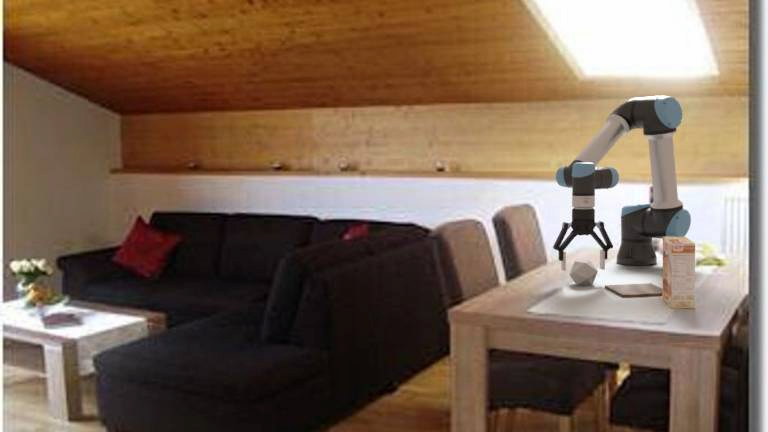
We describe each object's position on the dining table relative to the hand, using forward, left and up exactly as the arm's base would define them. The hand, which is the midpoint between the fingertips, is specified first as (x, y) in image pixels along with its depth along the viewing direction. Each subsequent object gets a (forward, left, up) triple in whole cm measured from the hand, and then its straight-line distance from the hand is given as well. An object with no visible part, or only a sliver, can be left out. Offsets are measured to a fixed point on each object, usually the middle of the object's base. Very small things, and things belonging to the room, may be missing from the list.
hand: (582, 269), depth 276 cm
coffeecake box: (-18, +34, -5) cm, 39 cm away
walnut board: (-13, +15, -5) cm, 21 cm away
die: (0, 0, -5) cm, 5 cm away
